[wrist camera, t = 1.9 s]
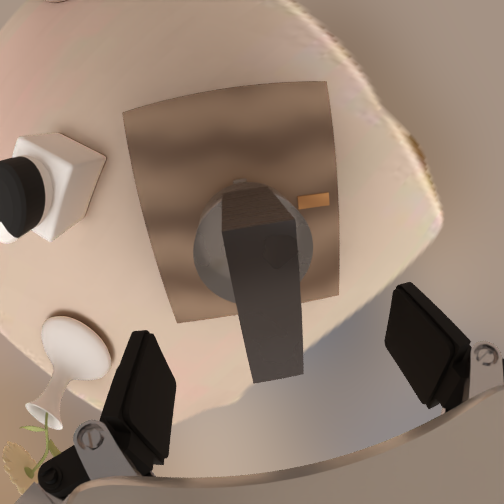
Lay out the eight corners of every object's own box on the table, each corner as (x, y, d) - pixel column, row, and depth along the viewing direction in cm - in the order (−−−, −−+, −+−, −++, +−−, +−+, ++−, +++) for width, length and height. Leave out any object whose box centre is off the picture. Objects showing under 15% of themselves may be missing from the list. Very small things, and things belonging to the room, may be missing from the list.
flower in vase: (41, 299, 28) (-48, 444, 5) (113, 322, 30) (50, 509, 7) (55, 362, 33) (5, 487, 10) (117, 383, 35) (86, 526, 12)
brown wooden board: (129, 114, 21) (98, 108, 15) (319, 84, 22) (350, 70, 15) (179, 312, 30) (171, 355, 24) (332, 285, 31) (356, 322, 25)
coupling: (188, 187, 18) (153, 243, 9) (291, 171, 18) (358, 210, 9) (215, 304, 22) (215, 409, 13) (301, 289, 22) (344, 384, 13)
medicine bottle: (58, 131, 20) (-22, 142, 10) (108, 156, 23) (35, 178, 12) (38, 191, 23) (-34, 228, 12) (84, 218, 25) (19, 271, 14)
